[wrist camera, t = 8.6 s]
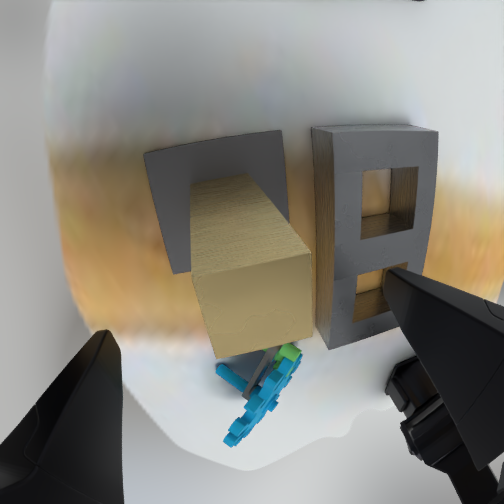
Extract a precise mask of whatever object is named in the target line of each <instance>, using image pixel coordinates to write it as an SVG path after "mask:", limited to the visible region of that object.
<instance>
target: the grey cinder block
mask: <svg viewBox="0 0 504 504" xmlns="http://www.w3.org/2000/svg"><path fill="white" fill-rule="evenodd" d="M311 133H312V147H313V163H314V182H315V207H316V259H317V280H316V327H317V329H318V331H319V333H320V335H321V337H322V339H323V340H324V342H325V344H326V346H327V348H328V350H331V349H334V348H337V347H341V346H344V345H347V344H350V343H353V342H356V341H359V340H362V339H365V338H368V337H371V336H374V335H377V334H380V333H383V332H385V331H388V330H391V329H393V328H396V327H399V325H398V322H397V320H396V318H395V316H394V314H393V312H392V311H391V309H390V307H389V305H388V303H387V301H386V299H385V297H384V294H383V286H384V280H385V274H386V271H387V270H388V269H391V268H395V267H399V268H402V269H405V270H408V271H411V272H413V273H416V274H419V275H422V272H423V267H424V262H425V257H426V252H427V246H428V241H429V234H430V228H431V221H432V214H433V206H434V197H435V187H436V175H437V160H438V131H434V130H430V129H426V128H421V127H417V126H412V125H345V126H325V127H311ZM389 168H392V178H391V199H390V213H386V214H380V215H375V216H369V217H364V218H361V215H362V171H367V170H378V169H389ZM383 268H384V269H383ZM379 269H383V276H382V283H381V288H378V289H375V290H371V291H368V292H364V293H361V294H357V295H356V286H357V276H358V275H360V274H364V273H368V272H371V271H375V270H379Z"/></svg>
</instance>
